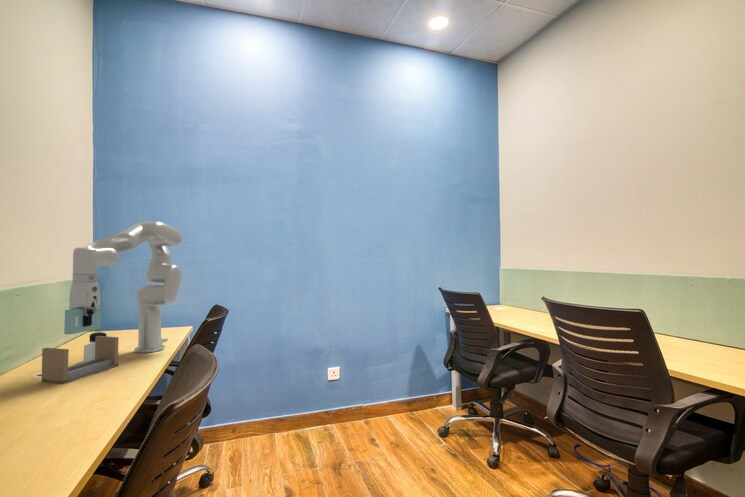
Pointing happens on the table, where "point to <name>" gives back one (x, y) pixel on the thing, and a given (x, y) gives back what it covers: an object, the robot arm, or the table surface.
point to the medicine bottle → (91, 346)
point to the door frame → (58, 367)
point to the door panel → (80, 321)
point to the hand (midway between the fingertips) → (83, 325)
